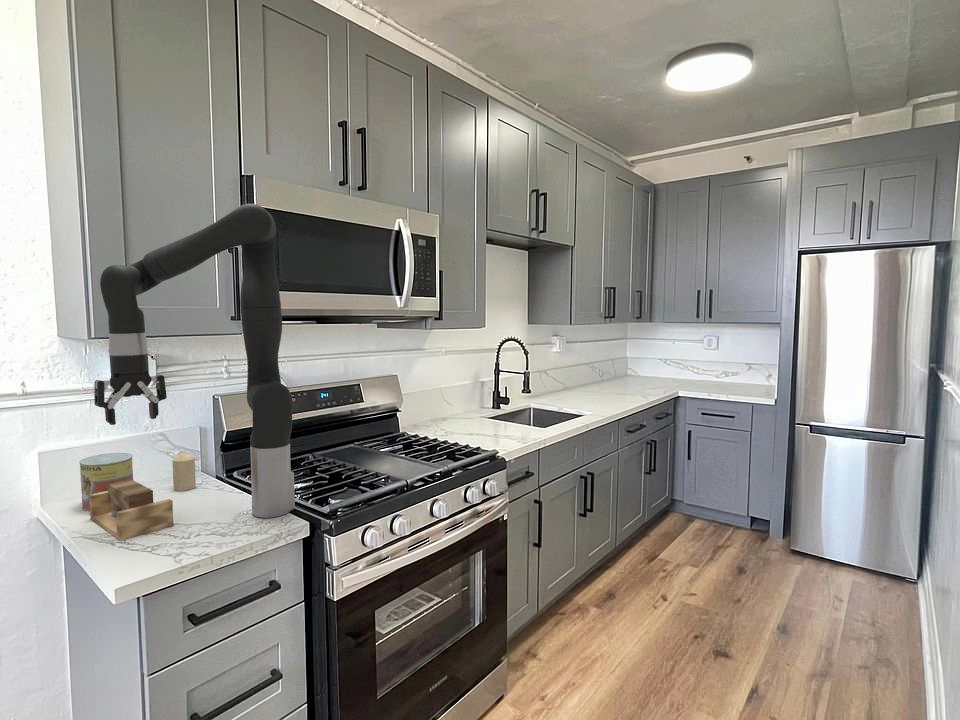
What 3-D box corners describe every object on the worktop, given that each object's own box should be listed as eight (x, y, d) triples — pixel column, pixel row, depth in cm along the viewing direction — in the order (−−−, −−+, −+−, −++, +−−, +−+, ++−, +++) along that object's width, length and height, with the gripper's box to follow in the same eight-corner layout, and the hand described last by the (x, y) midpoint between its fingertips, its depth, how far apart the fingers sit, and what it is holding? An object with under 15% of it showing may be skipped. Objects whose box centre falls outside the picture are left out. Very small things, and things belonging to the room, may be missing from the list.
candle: (189, 491, 151) (188, 456, 150) (169, 491, 151) (168, 456, 150) (199, 485, 157) (198, 451, 156) (180, 484, 157) (178, 450, 156)
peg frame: (141, 506, 139) (140, 483, 139) (173, 525, 128) (172, 500, 127) (90, 519, 131) (89, 494, 130) (120, 540, 119) (118, 513, 118)
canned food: (73, 506, 139) (70, 460, 138) (120, 493, 149) (118, 450, 148) (95, 515, 133) (92, 467, 132) (143, 501, 143) (141, 456, 142)
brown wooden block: (153, 507, 127) (152, 490, 126) (129, 513, 123) (128, 496, 122) (132, 494, 135) (131, 479, 134) (108, 500, 131) (107, 484, 130)
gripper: (98, 355, 118) (103, 429, 120) (168, 351, 129) (172, 418, 131) (86, 353, 123) (92, 424, 125) (155, 349, 134) (159, 414, 136)
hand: (133, 421), depth 128 cm, fingers open, 8 cm apart
